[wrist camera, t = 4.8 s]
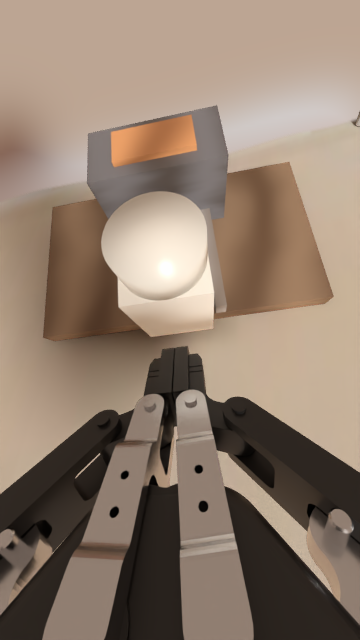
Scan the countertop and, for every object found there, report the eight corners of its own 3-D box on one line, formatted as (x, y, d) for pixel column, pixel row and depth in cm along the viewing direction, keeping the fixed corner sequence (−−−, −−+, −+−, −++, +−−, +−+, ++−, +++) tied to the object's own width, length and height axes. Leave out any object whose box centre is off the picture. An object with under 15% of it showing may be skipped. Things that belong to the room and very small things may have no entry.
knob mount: (54, 341, 22) (-29, 314, 14) (61, 217, 26) (0, 146, 19) (324, 303, 20) (394, 248, 12) (284, 175, 24) (317, 76, 16)
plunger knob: (150, 337, 19) (101, 291, 10) (147, 281, 20) (101, 201, 12) (213, 328, 18) (214, 273, 10) (204, 272, 20) (199, 182, 11)
